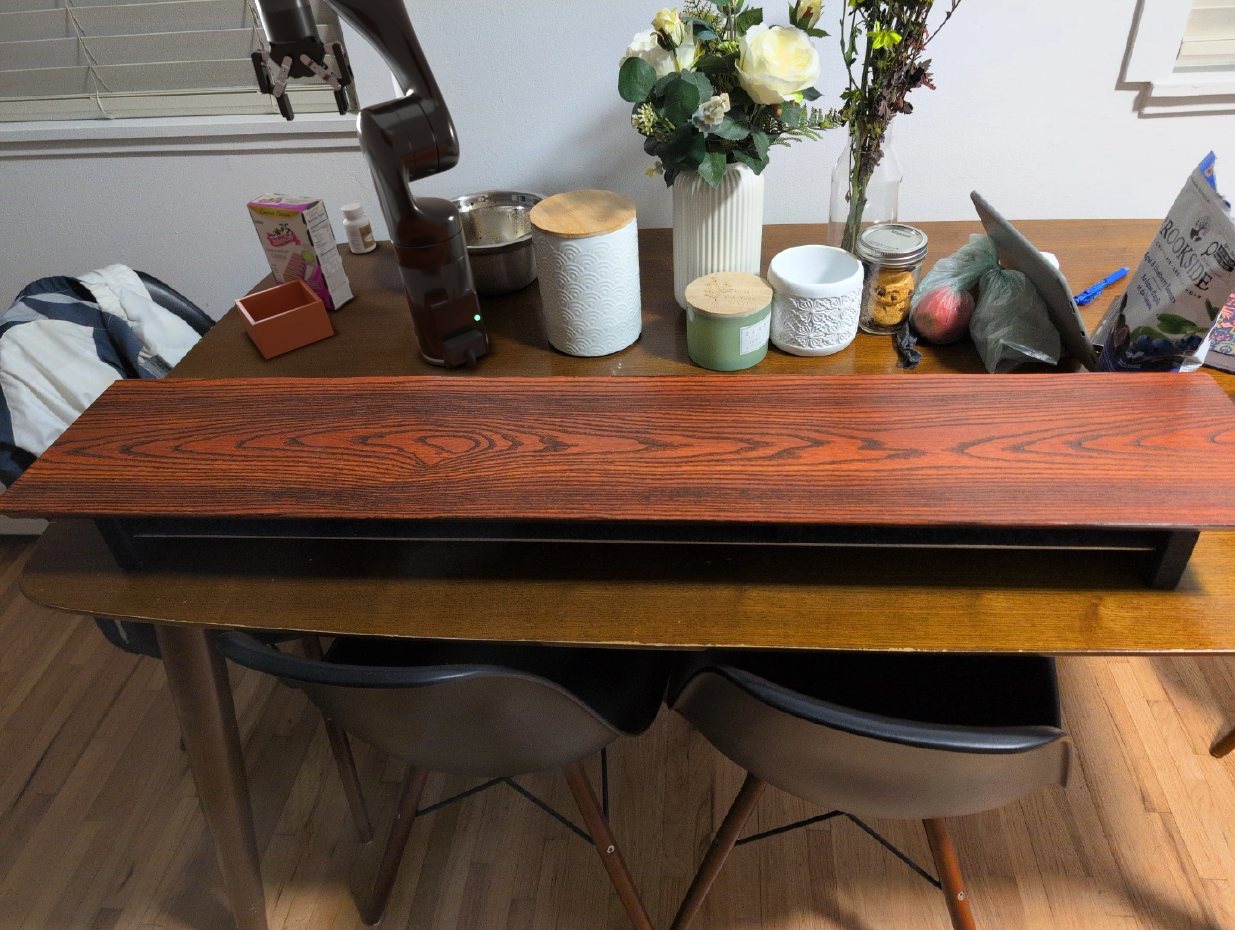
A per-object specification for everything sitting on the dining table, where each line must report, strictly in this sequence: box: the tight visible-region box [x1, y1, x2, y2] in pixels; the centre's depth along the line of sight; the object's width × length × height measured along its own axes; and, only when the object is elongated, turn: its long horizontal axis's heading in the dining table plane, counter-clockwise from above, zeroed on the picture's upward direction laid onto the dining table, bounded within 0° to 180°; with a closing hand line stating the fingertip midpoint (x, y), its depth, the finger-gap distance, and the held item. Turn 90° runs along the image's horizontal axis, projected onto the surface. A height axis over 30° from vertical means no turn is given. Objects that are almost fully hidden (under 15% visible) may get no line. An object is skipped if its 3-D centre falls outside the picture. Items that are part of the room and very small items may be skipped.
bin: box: [233, 278, 335, 360], centre depth 125 cm, size 10×10×6 cm
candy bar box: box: [245, 192, 354, 311], centre depth 130 cm, size 11×5×16 cm, turn 65°
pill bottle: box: [341, 202, 377, 254], centre depth 147 cm, size 4×4×8 cm
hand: (317, 116), depth 136 cm, fingers open, 8 cm apart
